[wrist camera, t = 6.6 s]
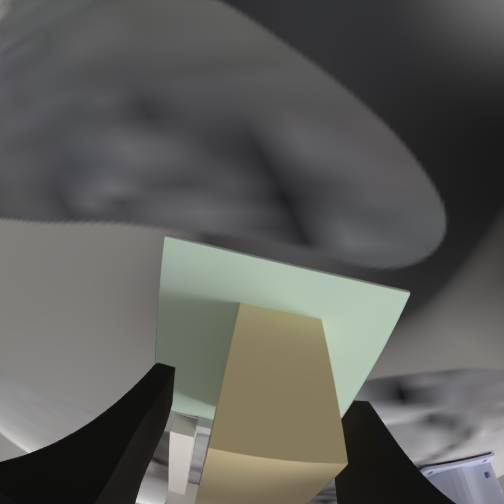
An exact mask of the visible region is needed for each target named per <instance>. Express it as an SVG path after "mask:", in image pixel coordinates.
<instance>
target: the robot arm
mask: <svg viewBox="0 0 504 504" xmlns="http://www.w3.org/2000/svg"><path fill="white" fill-rule="evenodd" d="M174 378H175V367H172V366H169V365H165V364H162V363H159V362H158V363H156V364H155V365H154V366H153V367H152V369H150V371H149V372H148V373H147V374H146V375H145V376H144V377H143V378H142V379H141V380H140V381H139V382H138V383H137V384H136V385H135V386H134V387H133V388H132V389H131V390H130V391H128V392H127V393H126V394H125V395H124V396H123V397H122V398H121V399H120V400H118V401H117V402H116V403H115V404H114V405H112V406H111V407H110V408H109V409H107V410H106V411H105V412H104V413H102V414H101V415H100V416H98V417H97V418H95V419H94V420H93V421H91V422H90V423H88V424H87V425H85V426H84V427H82V428H80V429H79V430H77V431H76V432H74V433H72V434H70V435H68V436H67V437H65V438H63V439H61V440H59V441H57V442H55V443H53V444H51V445H49V446H46V447H44V448H41V449H39V450H36V451H34V452H31V453H29V454H26V455H23V456H20V457H17V458H13V459H9V460H5V461H2V462H0V504H135V502H136V498H137V495H138V492H139V488H140V485H141V482H142V479H143V477H144V474H145V472H146V470H147V467H148V465H149V463H150V461H151V458H152V456H153V454H154V452H155V449H156V447H157V445H158V443H159V440H160V438H161V436H162V434H163V431H164V429H165V427H166V423H167V420H168V417H169V413H170V410H171V407H172V404H173V391H174ZM341 422H342V428H343V434H344V440H345V447H346V453H347V460H348V464H347V466H346V467H345V468H344V469H343V470H342V471H341V472H340V473H339V474H338V475H337V476H336V477H335V485H336V494H337V504H504V496H503V493H502V491H501V488H500V485H499V483H498V480H497V478H496V475H495V473H494V470H493V468H492V466H491V463H490V462H491V461H492V460H493V459H494V458H495V453H492V454H488V455H484V456H480V457H476V458H472V459H468V460H463V461H458V462H453V463H448V464H442V465H436V466H429V467H425V468H423V469H421V470H418V468H417V467H416V466H415V465H414V464H413V463H412V461H411V460H410V459H409V458H408V456H407V455H406V454H405V453H404V451H403V450H402V449H401V447H400V446H399V445H398V443H397V442H396V440H395V439H394V438H393V436H392V435H391V433H390V432H389V430H388V429H387V428H386V426H385V425H384V423H383V422H382V420H381V419H380V417H379V416H378V414H377V413H376V411H375V410H374V409H373V407H372V406H371V404H370V403H369V402H368V401H355V400H354V401H353V403H352V404H351V406H350V407H349V409H348V410H347V412H346V413H345V415H344V416H343V418H342V419H341Z"/></svg>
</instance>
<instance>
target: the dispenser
mask: <svg viewBox="0 0 504 504" xmlns="http://www.w3.org/2000/svg"><path fill="white" fill-rule="evenodd" d="M212 423H213V420H212V419H207V418H203V417H199V418H198V420H197V419H193V418H189V417H185V416H181V415H178V414H176V415H175V418H174V421H173V424H172V427H171V430H170V444H169V482H168V494H167V497H166V501H165V504H195V500H196V495H197V491H198V486H199V485H197V484H193V483H189V482H188V479H189V473H190V467H191V461H192V455H193V449H194V443H195V438H196V432H199V433H203V434H208V435H210V432H211V428H212Z"/></svg>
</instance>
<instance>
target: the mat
mask: <svg viewBox="0 0 504 504" xmlns="http://www.w3.org/2000/svg"><path fill="white" fill-rule="evenodd" d="M159 287H160V288H159V299H158V313H157V314H158V315H157V329H156V331H157V332H156V350H155V352H156V353H155V364H156V363H158V362H159V363H162V364H165V365H169V366H172V367H175V378H174V391H173V404H172V407H171V410H173V411H176V412H180V413H184V414H187V415H191V416H195V417H203V418H207V419H212V420H213V419H214V414H215V410H216V405H217V401H218V397H219V392H220V388H221V384H222V379H223V375H224V371H225V367H226V362H227V358H228V354H229V349H230V345H231V341H232V336H233V332H234V328H235V323H236V319H237V315H238V311H239V306H240V302H241V303H245V304H250V305H254V306H259V307H263V308H268V309H273V310H277V311H282V312H287V313H292V314H297V315H302V316H307V317H312V318H317V319H322V323H323V328H324V333H325V337H326V342H327V347H328V352H329V357H330V362H331V367H332V372H333V377H334V383H335V388H336V393H337V399H338V404H339V410H340V416H341V417H342V416H343V414H344V413H345V411H346V410H347V408H348V407H349V405H350V404H351V402H352V401H353V399H354V397H355V396H356V394H357V393H358V391H359V389H360V388H361V386H362V384H363V383H364V381H365V380H366V378H367V376H368V374H369V373H370V371H371V369H372V368H373V366H374V364H375V362H376V361H377V359H378V357H379V355H380V353H381V351H382V350H383V348H384V346H385V344H386V342H387V340H388V338H389V336H390V334H391V333H392V331H393V329H394V327H395V324H396V323H397V321H398V318H399V316H400V314H401V312H402V310H403V308H404V306H405V304H406V301H407V299H408V297H409V295H410V292H409V291H407V290H403V289H399V288H395V287H390V286H386V285H382V284H377V283H373V282H369V281H364V280H360V279H356V278H351V277H347V276H342V275H338V274H334V273H329V272H325V271H321V270H316V269H312V268H308V267H303V266H299V265H295V264H291V263H286V262H282V261H278V260H274V259H269V258H265V257H261V256H257V255H252V254H248V253H244V252H239V251H235V250H231V249H226V248H222V247H218V246H214V245H209V244H205V243H201V242H197V241H192V240H188V239H184V238H180V237H175V236H171V235H165V238H164V246H163V255H162V265H161V276H160V286H159Z"/></svg>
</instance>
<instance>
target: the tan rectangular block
mask: <svg viewBox="0 0 504 504" xmlns="http://www.w3.org/2000/svg"><path fill="white" fill-rule="evenodd" d="M347 464H348V460H347V453H346V447H345V440H344V434H343V428H342V422H341V416H340V410H339V404H338V399H337V393H336V388H335V383H334V377H333V372H332V367H331V362H330V357H329V352H328V347H327V342H326V337H325V333H324V328H323V323H322V319H317V318H312V317H307V316H302V315H297V314H292V313H287V312H282V311H277V310H273V309H268V308H263V307H259V306H254V305H250V304H245V303H241V302H240V306H239V311H238V315H237V319H236V323H235V328H234V332H233V336H232V341H231V345H230V349H229V354H228V358H227V362H226V367H225V371H224V375H223V379H222V384H221V388H220V392H219V397H218V401H217V405H216V410H215V414H214V419H213V423H212V428H211V432H210V437H209V441H208V446H207V450H206V455H205V459H204V464H203V468H202V473H201V477H200V482H199V486H198V491H197V495H196V500H195V504H307V503H309V502H310V501H311V500H312V499H313V498H314V497H315V496H316V495H317V494H318V493H320V492H321V491H322V490H323V489H324V488H325V487H326V486H327V485H328V484H329V483H330V482H331V481H332V480H333V479H334V478H335V477H336V476H337V475H338V474H339V473H340V472H341V471H342V470H343V469H344V468H345V467H346V466H347Z"/></svg>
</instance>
